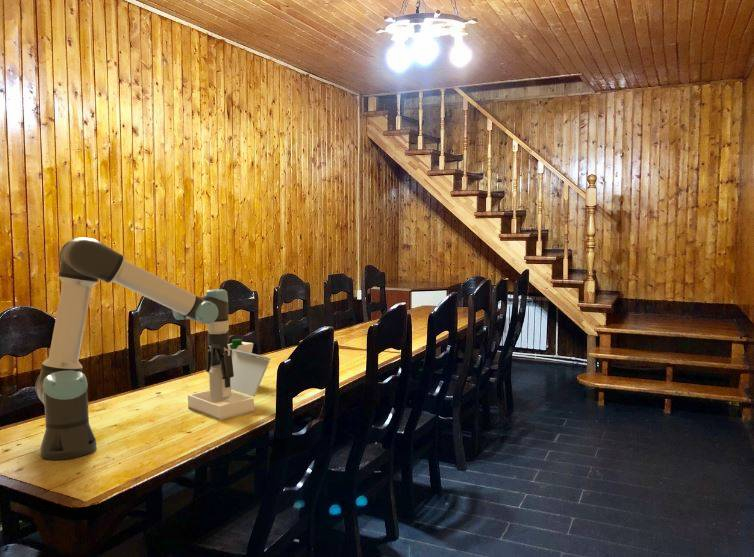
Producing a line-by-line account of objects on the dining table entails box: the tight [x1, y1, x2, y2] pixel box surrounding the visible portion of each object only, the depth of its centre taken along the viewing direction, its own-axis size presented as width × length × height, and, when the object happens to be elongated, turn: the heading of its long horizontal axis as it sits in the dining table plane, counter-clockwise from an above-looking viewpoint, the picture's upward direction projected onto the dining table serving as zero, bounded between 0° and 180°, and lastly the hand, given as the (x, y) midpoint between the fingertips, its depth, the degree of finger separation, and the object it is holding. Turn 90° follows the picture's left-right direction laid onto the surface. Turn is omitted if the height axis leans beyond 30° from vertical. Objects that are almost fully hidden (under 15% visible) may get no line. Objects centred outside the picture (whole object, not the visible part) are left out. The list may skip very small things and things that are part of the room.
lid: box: [230, 349, 271, 398], centre depth 237 cm, size 15×22×2 cm
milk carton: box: [227, 338, 254, 359], centre depth 266 cm, size 9×9×20 cm
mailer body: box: [187, 389, 255, 421], centre depth 231 cm, size 14×22×5 cm, turn 45°
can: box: [208, 364, 232, 401], centre depth 231 cm, size 8×8×12 cm
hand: (220, 393), depth 231 cm, fingers closed on can, 7 cm apart
